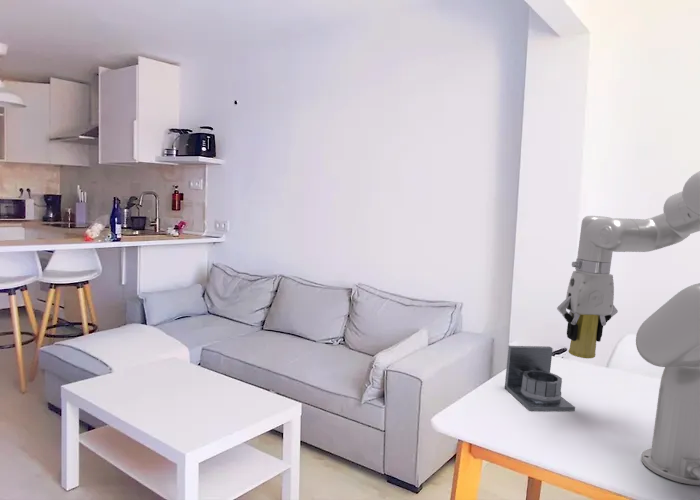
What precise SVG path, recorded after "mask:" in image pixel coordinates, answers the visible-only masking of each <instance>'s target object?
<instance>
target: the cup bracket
mask: <svg viewBox="0 0 700 500" xmlns="http://www.w3.org/2000/svg"><path fill="white" fill-rule="evenodd" d="M553 349H554V348H553V347H552V346H547V345H546V346H545V345H542V346H541V345H540V346H539V345H538V346H537V345H532V346H531V345H508V348H507V350H508V351H507V359H506V368H505V369H506V370H505V371H506V372H505V381H504V389H505V390H506V391H508V393H509V394H511V395H512V396H513V397H514V398H515V400H517V401H518V402H519V403H520V404H522V405H523V407H525V408H526V409H527V410H528V411H529V412H575V410H576V406H574V405H573V404H572V403H570V401H568V400H567V399H565V398H564V397H563V396H562V383H563V381H562V380H563V378H562V377H560V376H559V375H558V374H556V373H552V372H551V368H552V367H551V366H552V358H553V357H552V356H553Z"/></svg>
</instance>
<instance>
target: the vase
mask: <svg viewBox="0 0 700 500" xmlns="http://www.w3.org/2000/svg"><path fill="white" fill-rule="evenodd" d="M598 319H599V315H580V316H579V319H578V321H577V323H576V325H578V331H577V339H576V341H572V340H571V339H570V345H569V349H568V353H569V354H570V355H571V356H574V357H577V358H581V359H594V358H595V357H596V347H597V341H596V340H597V329H598Z"/></svg>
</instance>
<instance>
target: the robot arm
mask: <svg viewBox="0 0 700 500" xmlns="http://www.w3.org/2000/svg"><path fill="white" fill-rule="evenodd" d="M662 208H663V213H661V214H658V215H655V216H652V217H650V218H645V219H643V218H642V219H641V218H617V217H616V218H613V217H610V216H601V215H586V216H584V217H583V218H582V220H581V224H580V233H579V239H578V241H579V242H578V247H577V248H578V250H577V257H576V261H572V262H571V267H572V268H575V270H573V271H572V274H571V276H570V279H569V283H568V287H567V291H566V297H565V299H564V300H563V301H562V302H561V303H560V304H559V305H558V306H557V307H556V310H557V311H558V312H559V313H560V314H561V315H562V317H563V318H564V320H565V321H566V322H567V326H566V327H567V328H566V337H567V339H569V340H570V341H571V340H572V341H576V339H577V331H578V325H576V323H577V321H578V319H579V316H580V315H599V319H598V329H597V340H596V342H598V343H599V342H601V340H602V336H603V330H604V326H606V324H607V323H608V322H609V321H610V320H611V319H612V318H613V317H614V316H616V314H617V313H618V309H617V308H616V305H614V299H615V286H614V285H615V284H614V274H611V273H610V272H611V266H612V258H613V253H615V252H616V253H620V252H621V253H625V252H626V253H634V252H635V253H648V252H652V251H656V250H661V249H663V248H664V249H665V248H666V247H670V246H674V245H676V244H678V243H680V242H681V243H682V242H683V241H685V240H686V239H687V238H688V237H689V236H690V235H691V234H692V235H693V234H694V233H697V232H700V171H697V172H695V173H694V174H692V175H691V176H690V177H689V178H688V179H687V181H686V182H685V183H684V185H683V189H682V191H680V192H677V193H674V194H672V195H670V196H668V197H667V199H665V201H664V204H663V207H662ZM567 310H568V311H569V312H568V311H567ZM635 347H636V350H637V352H638V354H639V356H640V357H641V358H642V359H643V360H644V361H645V362H647V363H648V364H650V365H652V366H656V367H660V368H663V371H662V374H661V377H660V383H659V388H658V396H657V403H656V411H655V419H654V426H653V434H652V442H651V448H647V449H645V450H643V451H642V453H641V458H640V459H641V461H642V464H644V466H645V467H647V469H649V470H650V471H651V472H653V473H655V474H657V475H659V476H661V477H663V478H666V479H668V480H670V481H674V482H676V483H681V484H685V485H690V486H691V485H692V486H700V282H699V283H695V284H692V285H690V286H687V287H685V288H682V289H681V290H680V291H678V292H677V293H676V294H674V295H673V296H672V297H671V298H670V299H669V300H667V301H666V302H665V303H664V304H663V305H662V306H661V307H659V308H658V309H657V310H655V311H654V312H653V313H652V314H651V315H650V316H648V317H647V318H646V319H645V320H644V321H643V322H642V323H641V325H640V326H639V328H638V330H637V333H636V336H635Z"/></svg>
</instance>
